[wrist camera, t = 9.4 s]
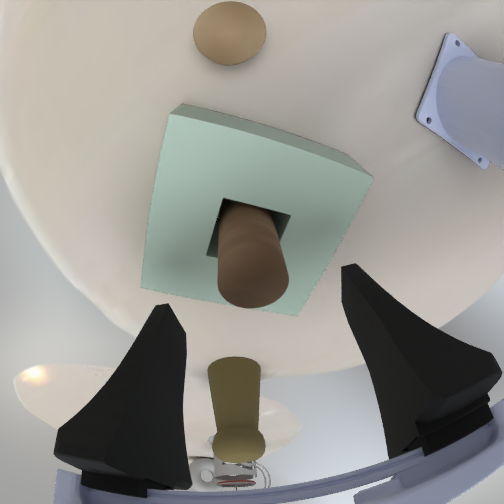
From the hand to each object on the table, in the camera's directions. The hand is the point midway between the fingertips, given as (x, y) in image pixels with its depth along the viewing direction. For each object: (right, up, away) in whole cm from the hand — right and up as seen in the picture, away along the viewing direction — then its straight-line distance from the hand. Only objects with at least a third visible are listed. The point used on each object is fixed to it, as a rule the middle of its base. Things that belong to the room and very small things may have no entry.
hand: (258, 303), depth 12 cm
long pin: (-1, +5, +8) cm, 9 cm away
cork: (-2, -11, +20) cm, 23 cm away
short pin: (-2, +14, +1) cm, 14 cm away
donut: (-11, -47, +45) cm, 66 cm away
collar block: (-1, +5, +8) cm, 9 cm away
